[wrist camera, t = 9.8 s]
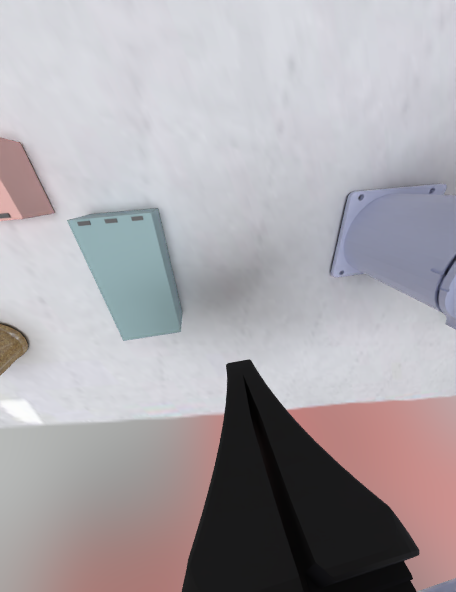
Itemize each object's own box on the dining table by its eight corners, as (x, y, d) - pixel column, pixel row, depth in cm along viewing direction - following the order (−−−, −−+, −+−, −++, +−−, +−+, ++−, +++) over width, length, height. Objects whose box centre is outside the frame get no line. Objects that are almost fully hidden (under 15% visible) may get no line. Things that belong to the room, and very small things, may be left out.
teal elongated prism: (158, 208, 15) (150, 213, 12) (182, 313, 20) (180, 332, 17) (89, 214, 14) (66, 220, 12) (132, 320, 19) (123, 341, 17)
